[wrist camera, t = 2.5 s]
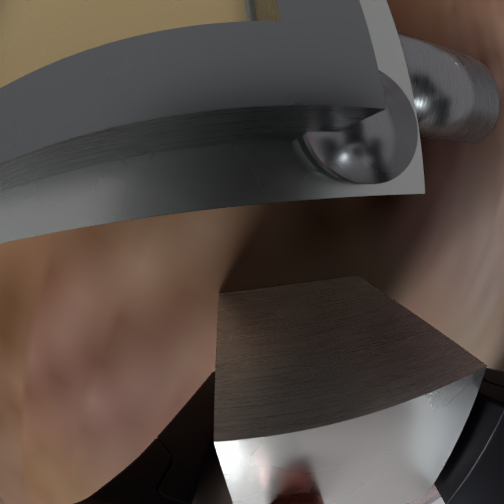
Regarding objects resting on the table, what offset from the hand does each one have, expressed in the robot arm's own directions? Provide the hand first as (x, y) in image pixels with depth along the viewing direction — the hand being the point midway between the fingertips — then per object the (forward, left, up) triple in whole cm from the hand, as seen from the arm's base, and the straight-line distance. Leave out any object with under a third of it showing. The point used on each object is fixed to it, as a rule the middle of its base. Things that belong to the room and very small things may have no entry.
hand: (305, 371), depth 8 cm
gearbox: (+3, -11, -1) cm, 12 cm away
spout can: (0, 0, -2) cm, 2 cm away
